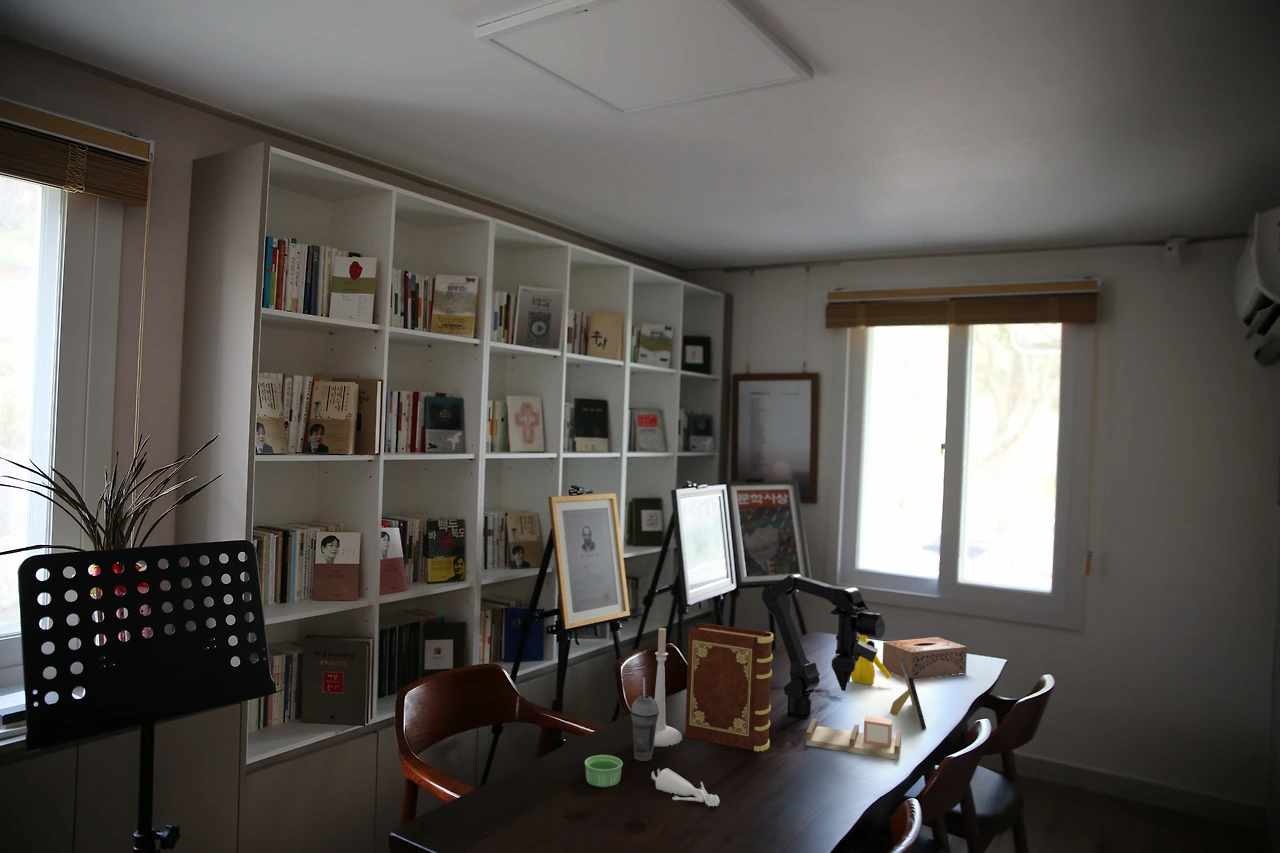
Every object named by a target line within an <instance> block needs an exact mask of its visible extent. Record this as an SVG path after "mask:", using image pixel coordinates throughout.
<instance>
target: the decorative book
mask: <svg viewBox="0 0 1280 853" xmlns="http://www.w3.org/2000/svg"><path fill="white" fill-rule="evenodd" d="M773 641H774V633H772V632H771V631H762V630H755V629H749V628H748V629H747V628H742V627H741V628H740V627H735V626H733V627H732V626H726V625H721V624H712V623H703V622H698V623H697V628H695V627H688V641H687V642H688V646H687V665H686V666H687V672H686V674H687V676H686V697H685V698H686V699H685V700H686V702H685V723H684V724H685V725H684V726H685V727H684V728H685V729H684V730H685V731H684V732H685V733H684V734H685V735H684V736H685V738H689V739H694V740H697V741H702V742H708V743H711V744H712V743H714V744H717V745H724V746H728V747H733V748H737V747H738V749H742V748H743V750H747V749H748V750H749V751H753V750H754V751H753V752H756V751H757V753H760V752H759V751H762V752H765V751H767V750H768V749H769V748H770V745H771V744H770V743H771V742H770V739H769V729H770V727H771V720H770V712H771V710H772V706H771V705H772V704H770V700H771V677H772V675H773V670H772V668H771V667H772V660H773V659H774V658H773V653H772V645H773V644H772V643H773ZM764 750H765V751H764Z"/></svg>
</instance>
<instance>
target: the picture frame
mask: <svg viewBox="0 0 1280 853" xmlns="http://www.w3.org/2000/svg"><path fill="white" fill-rule="evenodd" d="M900 661H901V664H902V668H903V672H904V675H905V678H904V679H905V683H906V686H907V690H905V691H904V692H903V693H902V694H901V695H900V696H899V697H897V698H896V699H895V700H894V701H893V702H892V705H891V708H890V711H889V713H890V714H891V715H894V716H896V717H897V716H898V715H899V713H900V711H901V709H902V708H903V706H904V704H905V703H906V702H907V700H908V698H910V702H911V705H912V707H913V711H914V712H915V715H916V718H917V721H918V723H919V726H920V729H921V730H923V731H924V730H926V729H927V726H926V723H925V722H926V721H925V718H924V714H923V711H922V707H921V705H920V699H919V697H918V692H917V689H916V685H915V680H913V677H912V675H911V673H910V670H909V668H908V666H907V663H906V661H905V658H904V657H901V658H900Z"/></svg>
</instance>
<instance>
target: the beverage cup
mask: <svg viewBox="0 0 1280 853" xmlns="http://www.w3.org/2000/svg"><path fill="white" fill-rule="evenodd" d="M642 693H643V694H642V695H640V696H639V697H637V698H636V699H635V700H634V701H633V702H632V705H631V709H630V714H631V722H632V734H633V735H632V736H633V737H632V738H633V739H632V740H633V753H634V759H635V760H637V761H641V762H647V761H651V760H652V759H653V754H654V748H655V746H654V740H655V731H656V723H657V720H658V714H659V711H658V705H657V703H656V701H655V698H653V697H652V696H650V695H646V679H645V677H643V678H642ZM650 759H651V760H650Z"/></svg>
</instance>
